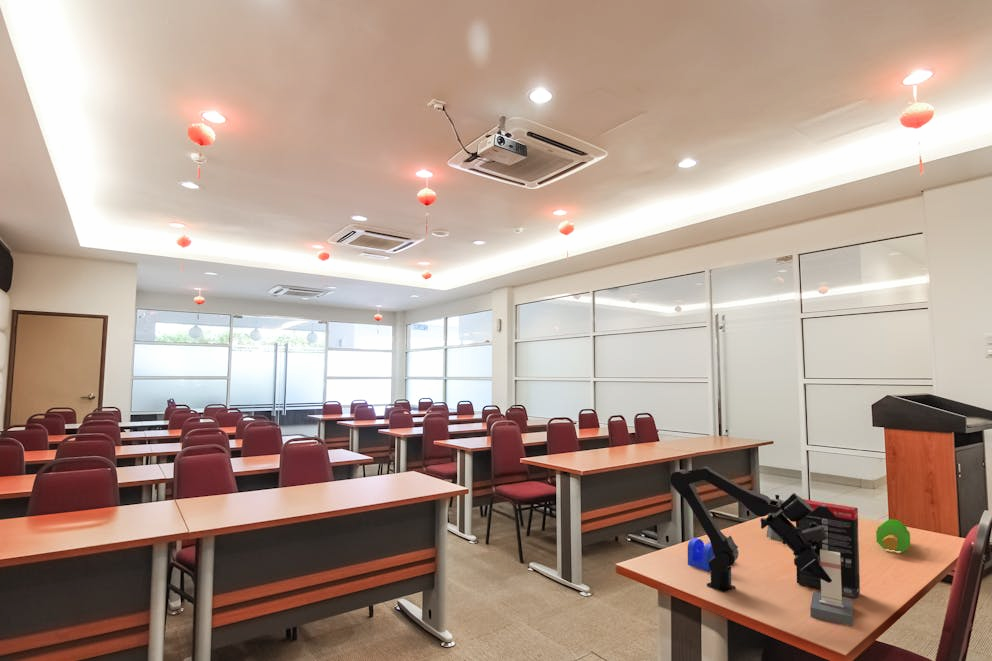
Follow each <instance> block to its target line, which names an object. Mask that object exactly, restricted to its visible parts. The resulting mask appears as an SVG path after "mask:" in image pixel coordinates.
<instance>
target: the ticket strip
mask: <svg viewBox="0 0 992 661" xmlns="http://www.w3.org/2000/svg"><path fill="white" fill-rule="evenodd" d="M820 565H821V566H822V567H823V569H824V570H825V571H826V573H827V574H828V575H829V577H830V578H831V580H832V582H830V583H828V582H826V581H824V580H822V579H821V589H820V593H821V600H822V601H827V602H831V603H836V604H841V605H842V597H843V595H842V590H841V562H840V553H839V552H833V551H827V550H821V549H820Z"/></svg>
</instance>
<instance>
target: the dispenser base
mask: <svg viewBox="0 0 992 661" xmlns="http://www.w3.org/2000/svg"><path fill="white" fill-rule="evenodd" d="M853 605H854V604H853V598H846V597H843V596H842V605H841V604H836V603H831V602H827V601H822V600H821V592H818V591H814V590H813V591H812V596H811V601H810V608H809V609H810V613H809V614H810V617H812V618H816V619H820V620H825V621H829V622H833V623H837V624H842V625H845V626H851V627H853V626H854V620H853V619H854V612H853V610H854V608H853V607H854V606H853Z"/></svg>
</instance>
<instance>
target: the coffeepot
mask: <svg viewBox="0 0 992 661" xmlns="http://www.w3.org/2000/svg"><path fill="white" fill-rule="evenodd" d="M774 497H775V498H772V499H771V498H770V499H771V500H775V501H779V502H784V501H785V500H782V499H780V495H779V494H775V496H774ZM780 511H782V510H781V509H780V510H779V511H778V512H777V513H773V514H775V515H776V514H778V513H779V512H780ZM771 514H772V513H769V514H768V515H767V517H768V516H769V515H771ZM782 514H783V513H782ZM783 515H784V514H783ZM784 516H785V515H784ZM785 517H786V516H785ZM786 518H787V517H786ZM787 519H788V518H787ZM788 520H789V519H788ZM790 522H791V523H792V521H790ZM794 523H796V521H795V522H794ZM765 537H767V538H768V537H769V538H768V539H770V538H771V539H770V540H773V539H775V540H774V541H778V540H780V541H781V542H782V540H781V538H780V537H779V536H778V535H777V534H776V533H775V532H774V531H773V530H772V529H771V528H770V527H769V526H768V525H767V529H766V534H765ZM780 541H779V542H780Z"/></svg>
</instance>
